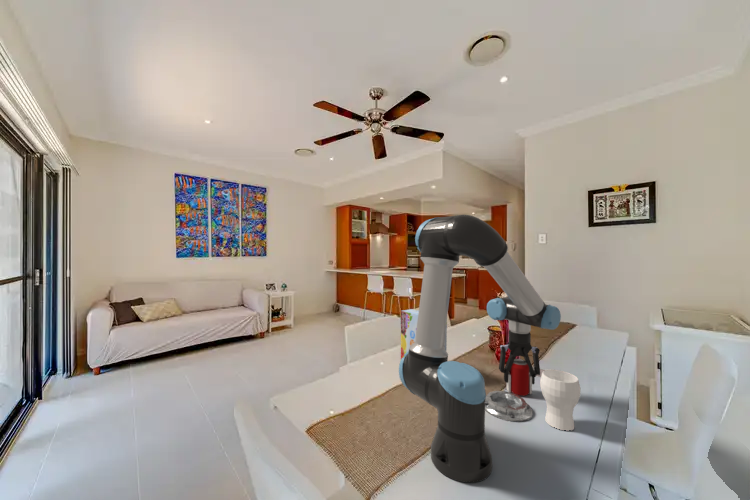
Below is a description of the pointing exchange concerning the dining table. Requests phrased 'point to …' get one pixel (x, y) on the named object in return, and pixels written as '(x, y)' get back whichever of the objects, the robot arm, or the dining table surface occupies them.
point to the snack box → (411, 330)
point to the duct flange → (507, 406)
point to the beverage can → (519, 377)
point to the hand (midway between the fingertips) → (519, 391)
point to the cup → (560, 397)
